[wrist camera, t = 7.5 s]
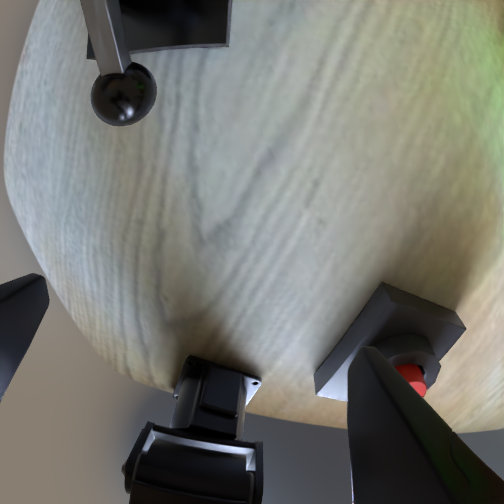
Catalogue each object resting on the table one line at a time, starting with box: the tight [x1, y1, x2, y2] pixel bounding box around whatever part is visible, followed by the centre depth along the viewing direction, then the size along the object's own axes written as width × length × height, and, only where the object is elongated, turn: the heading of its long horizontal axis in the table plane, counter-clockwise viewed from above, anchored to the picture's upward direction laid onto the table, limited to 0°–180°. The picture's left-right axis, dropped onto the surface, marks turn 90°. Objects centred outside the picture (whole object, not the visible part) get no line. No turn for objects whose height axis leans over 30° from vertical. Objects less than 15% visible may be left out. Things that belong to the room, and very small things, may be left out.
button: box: [394, 363, 427, 397], centre depth 18 cm, size 4×4×2 cm
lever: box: [80, 0, 157, 126], centre depth 8 cm, size 12×3×3 cm
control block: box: [314, 282, 466, 401], centre depth 21 cm, size 10×8×4 cm
